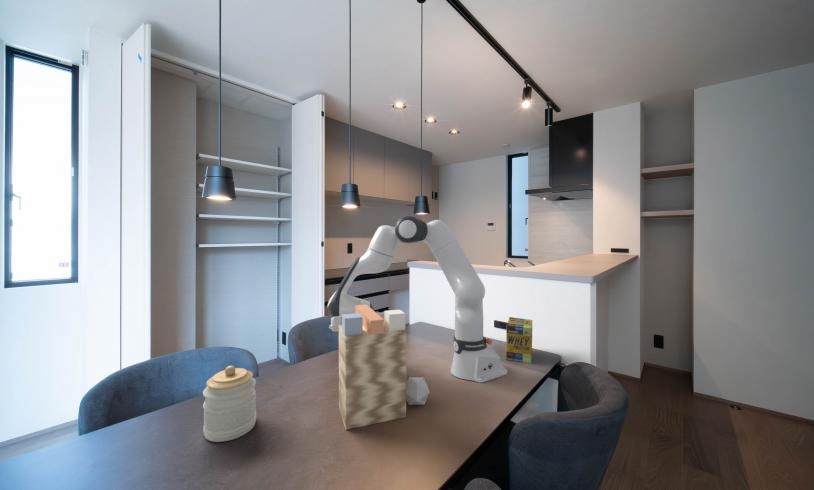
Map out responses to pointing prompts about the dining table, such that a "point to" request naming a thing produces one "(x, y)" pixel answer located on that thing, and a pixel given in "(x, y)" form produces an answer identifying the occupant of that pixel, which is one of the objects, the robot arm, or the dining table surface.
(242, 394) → the jar
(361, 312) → the bar terracotta
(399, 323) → the cube cream
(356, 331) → the cube slate
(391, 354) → the oak stand
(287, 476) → the dining table surface
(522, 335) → the protein box
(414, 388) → the die
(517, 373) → the dining table surface
